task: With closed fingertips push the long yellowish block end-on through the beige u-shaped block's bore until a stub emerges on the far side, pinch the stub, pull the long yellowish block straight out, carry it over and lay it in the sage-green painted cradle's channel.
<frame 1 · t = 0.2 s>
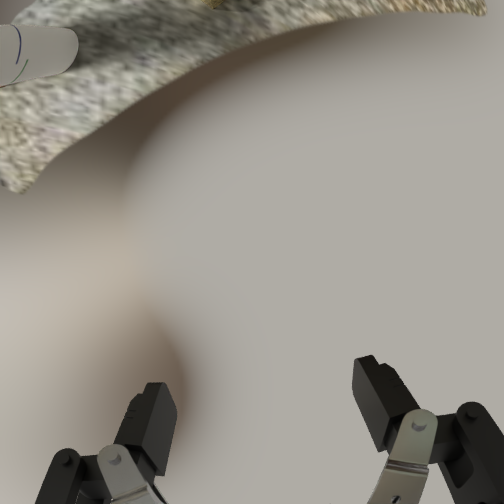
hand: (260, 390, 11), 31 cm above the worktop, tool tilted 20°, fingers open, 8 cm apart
cylindrical container: (58, 51, 23), on the worktop
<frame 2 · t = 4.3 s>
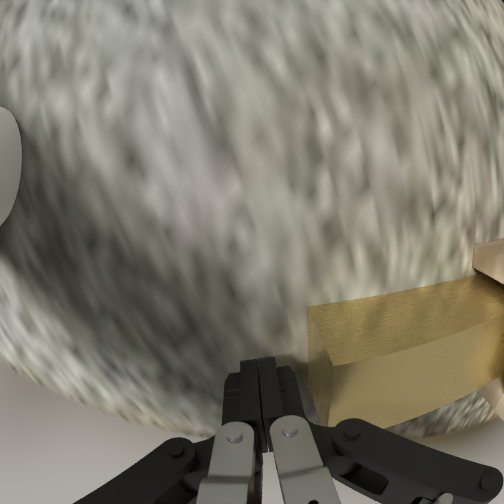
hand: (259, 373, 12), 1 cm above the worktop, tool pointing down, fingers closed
long yellowish block: (473, 330, 11), point 2 cm above the worktop, touching gripper
beige u-shaped block: (502, 295, 13), on the worktop
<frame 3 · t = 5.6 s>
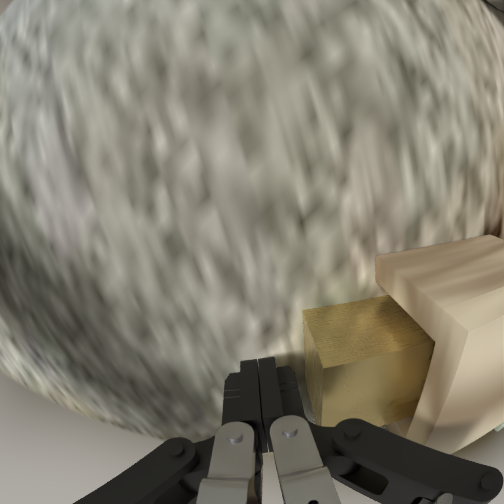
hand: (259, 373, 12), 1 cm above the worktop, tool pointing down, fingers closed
long yellowish block: (469, 330, 11), point 2 cm above the worktop, touching beige u-shaped block
beige u-shaped block: (435, 313, 13), on the worktop
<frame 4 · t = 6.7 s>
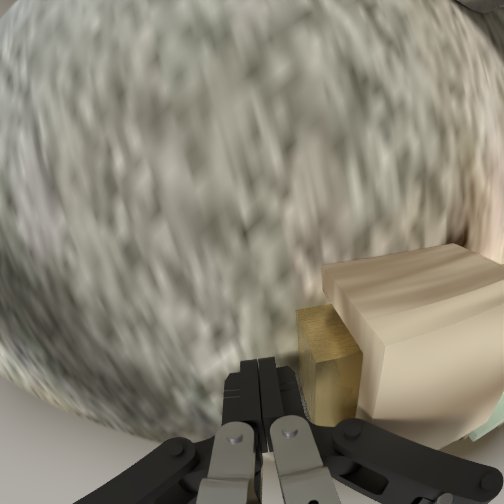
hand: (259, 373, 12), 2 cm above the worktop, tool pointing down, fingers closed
long yellowish block: (458, 329, 12), point 2 cm above the worktop
beige u-shaped block: (392, 323, 14), on the worktop
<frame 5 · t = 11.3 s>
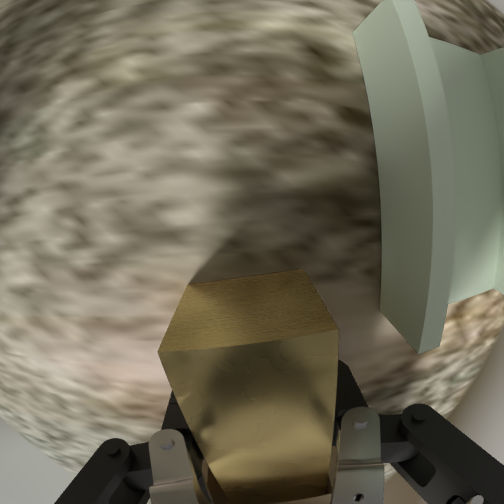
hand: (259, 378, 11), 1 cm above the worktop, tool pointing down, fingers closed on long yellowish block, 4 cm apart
cradle: (450, 169, 10), on the worktop
long yellowish block: (272, 457, 11), point 2 cm above the worktop, touching gripper
beige u-shaped block: (268, 458, 14), on the worktop
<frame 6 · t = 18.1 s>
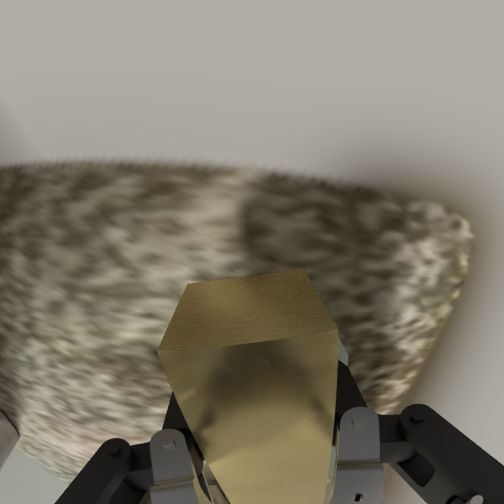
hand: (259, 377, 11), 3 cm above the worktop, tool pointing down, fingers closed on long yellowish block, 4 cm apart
cradle: (266, 404, 16), on the worktop
long yellowish block: (272, 457, 11), point 5 cm above the worktop, touching gripper
beige u-shaped block: (188, 498, 21), on the worktop
when the fingers open (3 cm above the worktop, at t = 19.3 s): long yellowish block drops 1 cm, resting on cradle.
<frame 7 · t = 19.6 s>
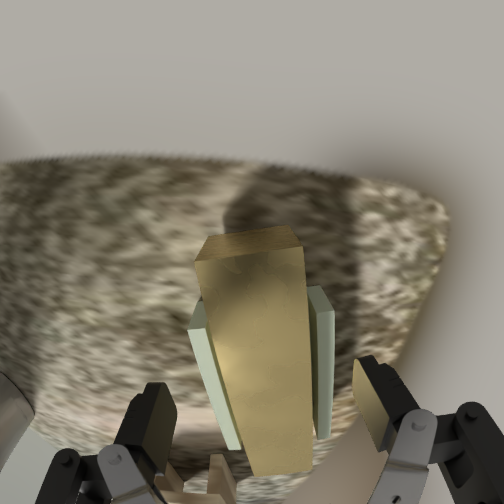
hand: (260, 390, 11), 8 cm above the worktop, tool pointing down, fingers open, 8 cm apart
cradle: (268, 365, 20), on the worktop
long yellowish block: (269, 381, 16), point 3 cm above the worktop, touching cradle
beige u-shaped block: (196, 470, 25), on the worktop
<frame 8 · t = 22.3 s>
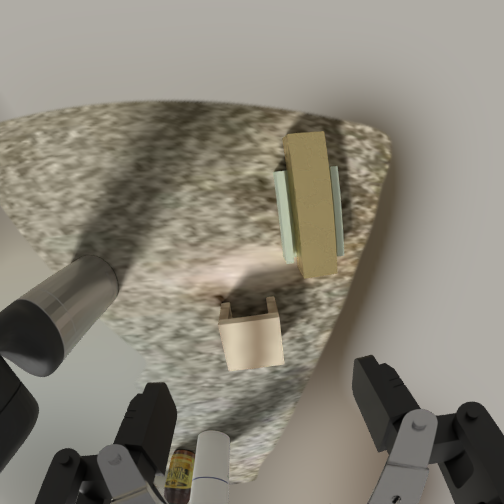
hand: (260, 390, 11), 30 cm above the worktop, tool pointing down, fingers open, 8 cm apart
sauce bottle: (184, 454, 54), on the worktop
cradle: (306, 211, 39), on the worktop
long yellowish block: (311, 204, 36), point 3 cm above the worktop, touching cradle
beige u-shaped block: (251, 322, 44), on the worktop
cylindrical container: (214, 438, 52), on the worktop
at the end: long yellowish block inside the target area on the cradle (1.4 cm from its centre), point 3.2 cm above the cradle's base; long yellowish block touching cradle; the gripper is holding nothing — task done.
